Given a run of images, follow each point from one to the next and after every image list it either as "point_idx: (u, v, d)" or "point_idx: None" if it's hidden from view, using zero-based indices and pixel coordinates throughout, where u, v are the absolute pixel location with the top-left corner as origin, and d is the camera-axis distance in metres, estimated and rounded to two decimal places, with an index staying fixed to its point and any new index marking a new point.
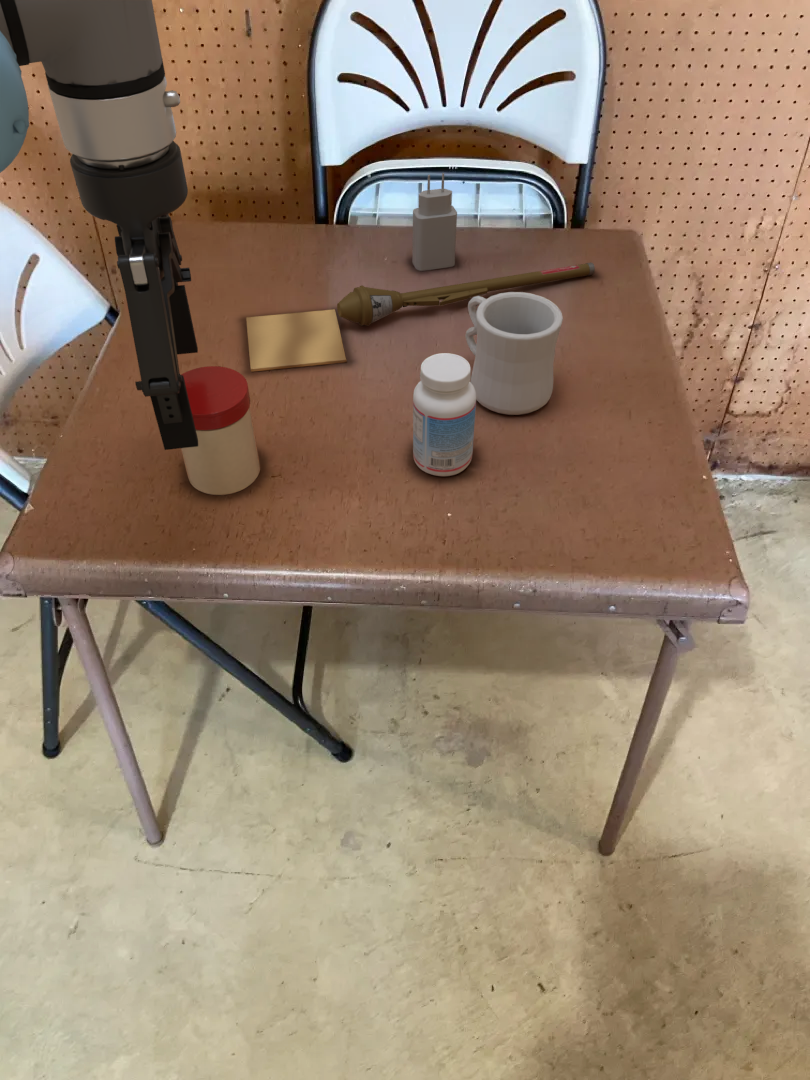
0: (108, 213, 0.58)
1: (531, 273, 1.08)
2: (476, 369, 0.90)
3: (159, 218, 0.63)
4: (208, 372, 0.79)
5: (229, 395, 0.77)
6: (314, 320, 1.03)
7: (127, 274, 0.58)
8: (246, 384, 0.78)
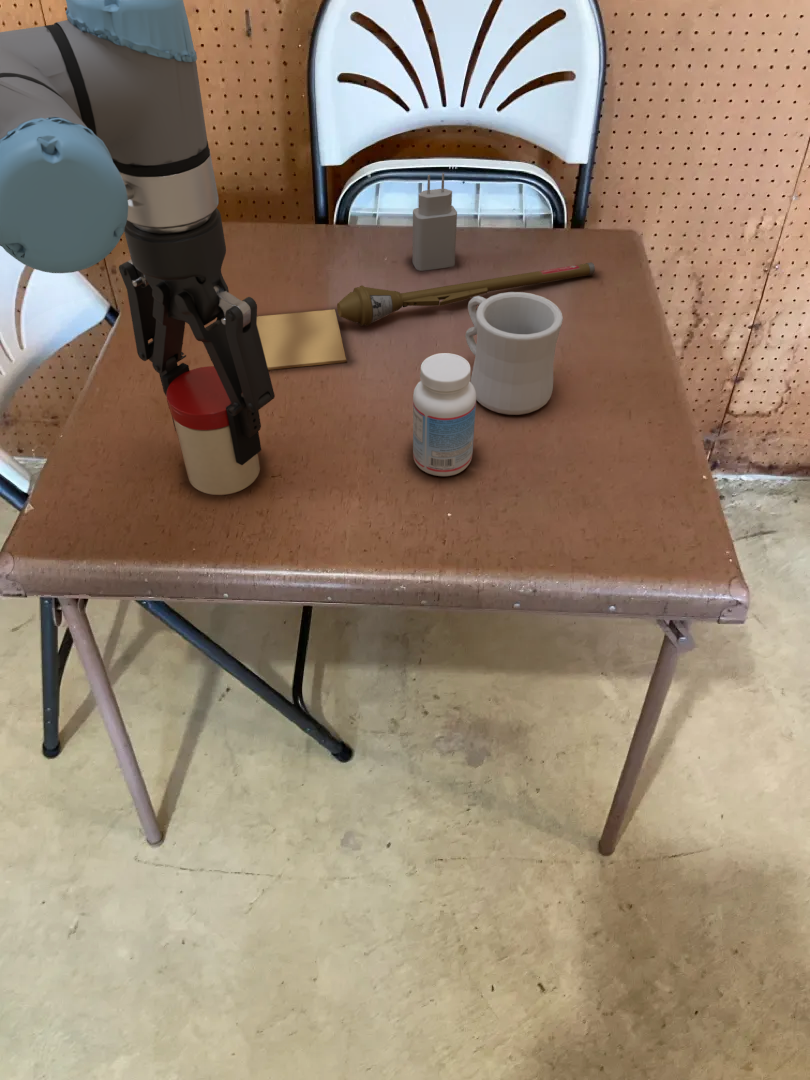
0: None
1: (531, 273, 1.08)
2: (476, 369, 0.90)
3: (185, 291, 0.68)
4: (208, 372, 0.79)
5: None
6: (314, 320, 1.03)
7: None
8: None
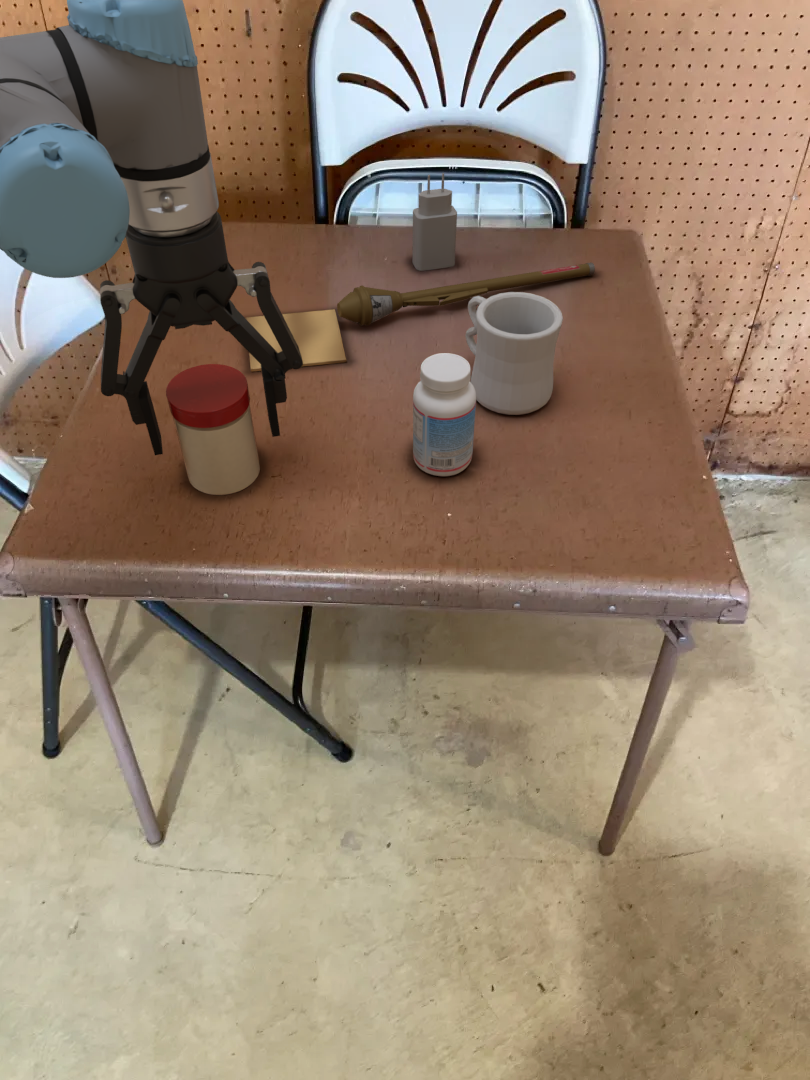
0: None
1: (531, 273, 1.08)
2: (476, 369, 0.90)
3: (201, 288, 0.69)
4: (177, 389, 0.77)
5: (220, 373, 0.79)
6: (314, 320, 1.03)
7: None
8: (204, 365, 0.80)
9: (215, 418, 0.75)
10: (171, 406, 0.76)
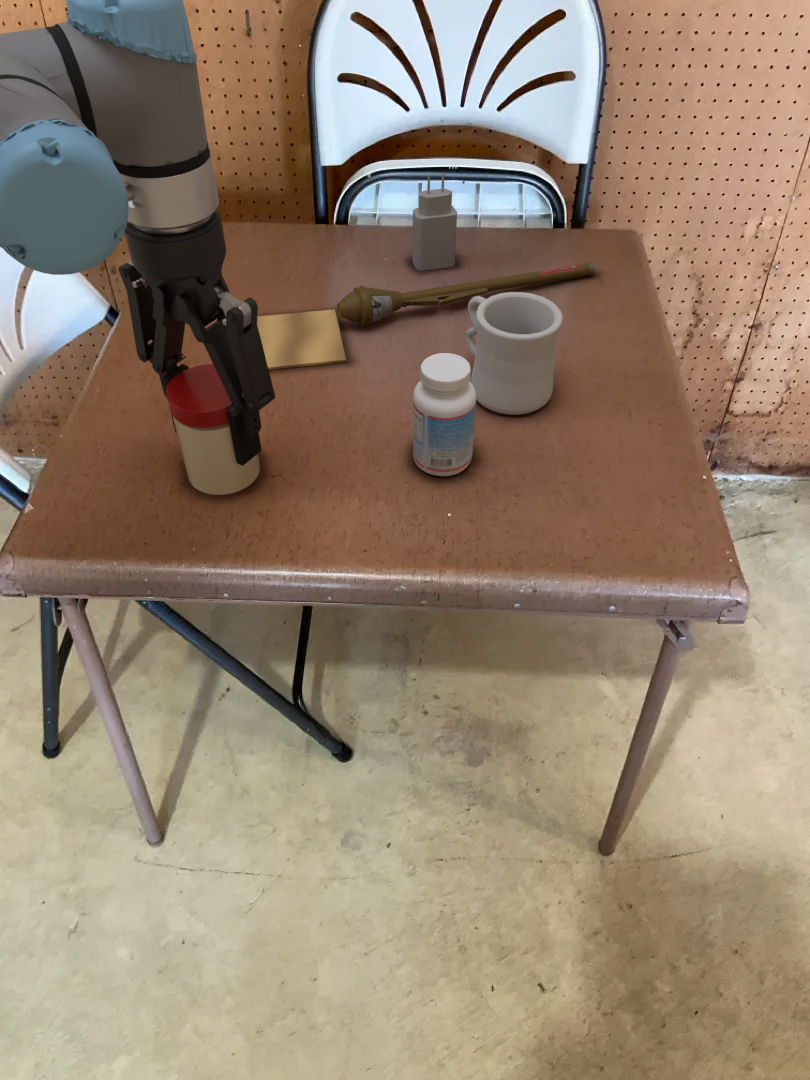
0: None
1: (531, 273, 1.08)
2: (476, 369, 0.90)
3: (186, 292, 0.68)
4: (177, 389, 0.77)
5: None
6: (314, 320, 1.03)
7: None
8: (204, 365, 0.80)
9: (215, 418, 0.75)
10: (171, 406, 0.76)
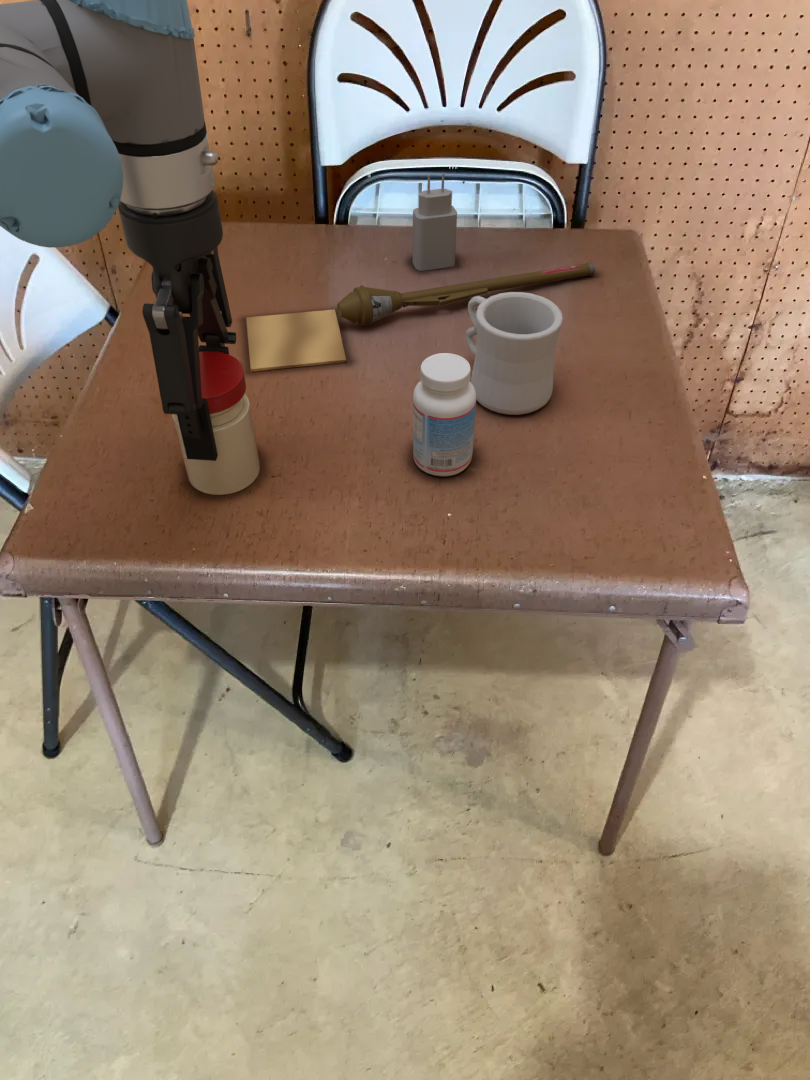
0: (141, 252, 0.64)
1: (531, 273, 1.08)
2: (476, 369, 0.90)
3: None
4: (215, 388, 0.75)
5: None
6: (314, 320, 1.03)
7: (150, 322, 0.65)
8: None
9: None
10: (238, 387, 0.75)
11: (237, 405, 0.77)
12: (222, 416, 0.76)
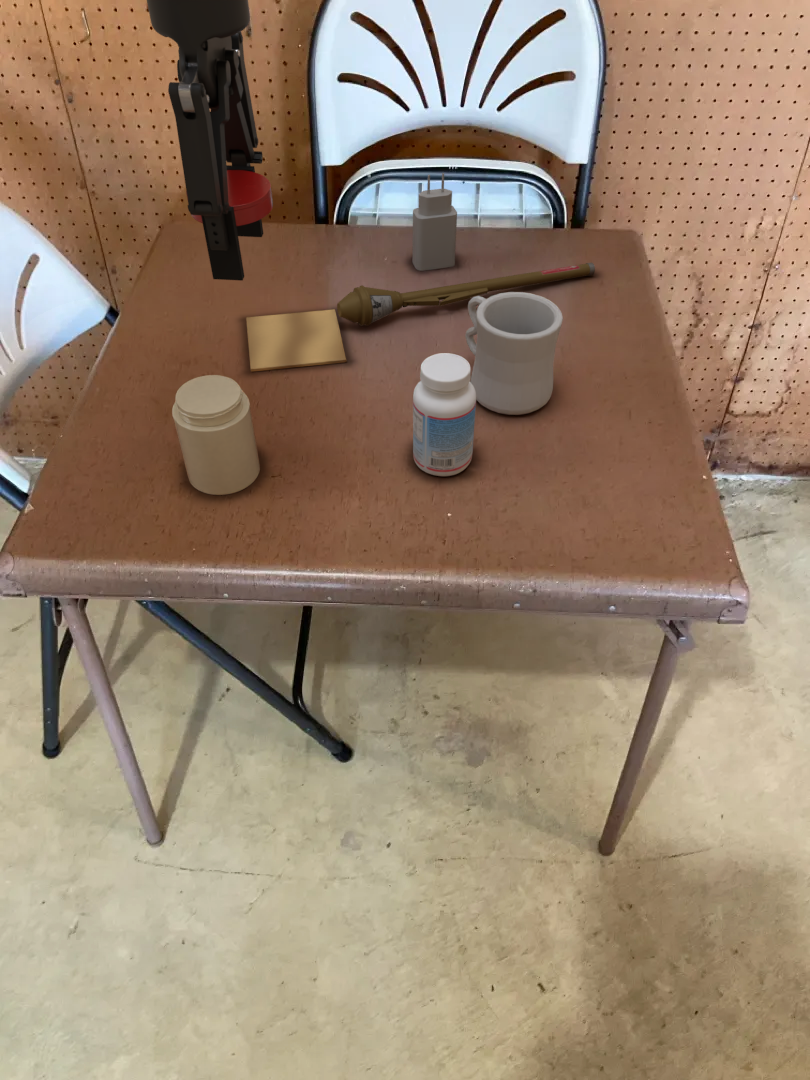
0: (167, 28, 0.62)
1: (531, 273, 1.08)
2: (476, 369, 0.90)
3: (225, 48, 0.67)
4: (242, 198, 0.73)
5: None
6: (314, 320, 1.03)
7: (176, 102, 0.63)
8: None
9: None
10: (265, 199, 0.74)
11: (237, 405, 0.77)
12: (222, 416, 0.76)
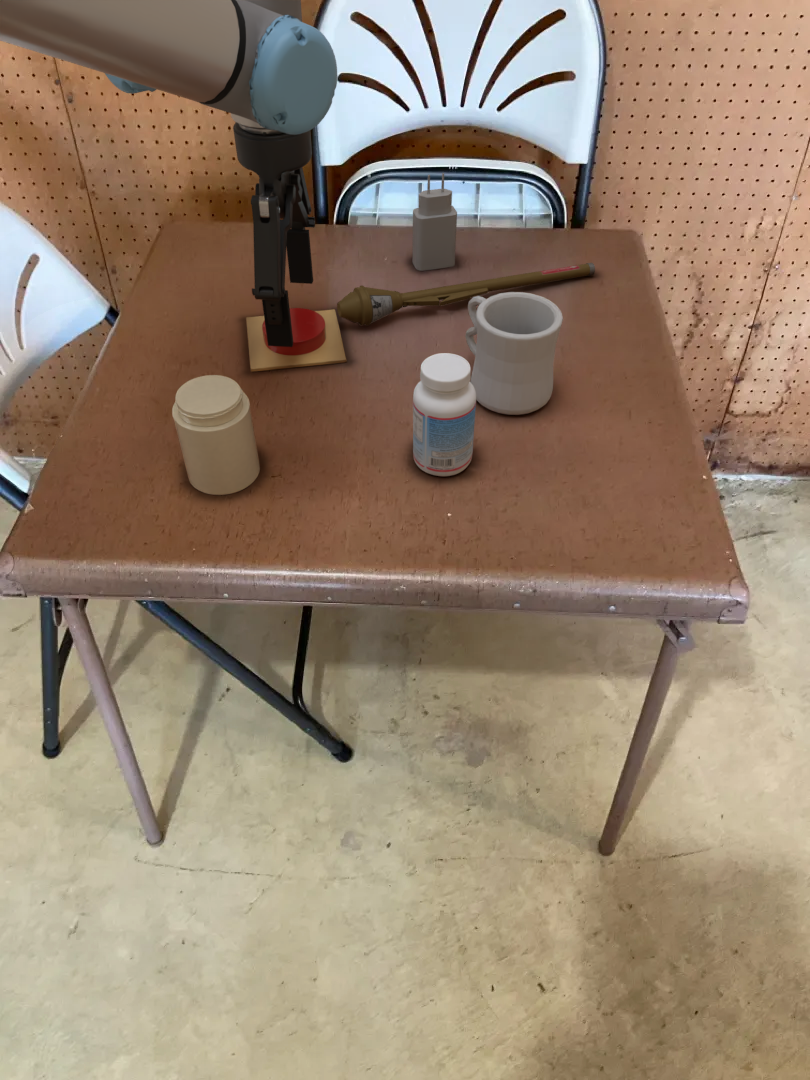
0: (251, 165, 0.82)
1: (531, 273, 1.08)
2: (476, 369, 0.90)
3: (290, 174, 0.87)
4: (305, 334, 0.97)
5: None
6: None
7: (256, 209, 0.82)
8: None
9: None
10: (322, 334, 0.98)
11: (237, 405, 0.77)
12: (222, 416, 0.76)
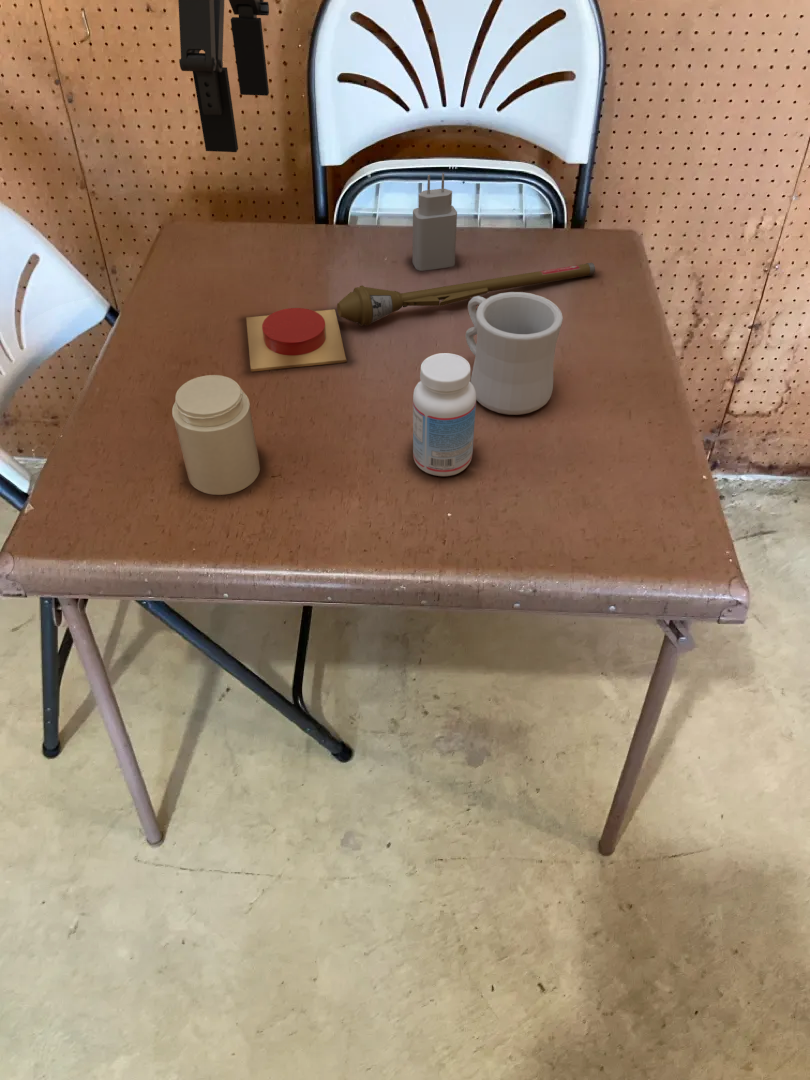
0: None
1: (531, 273, 1.08)
2: (476, 369, 0.90)
3: None
4: (305, 334, 0.97)
5: (273, 325, 0.99)
6: None
7: None
8: (268, 335, 0.97)
9: None
10: (322, 334, 0.98)
11: (237, 405, 0.77)
12: (222, 416, 0.76)
